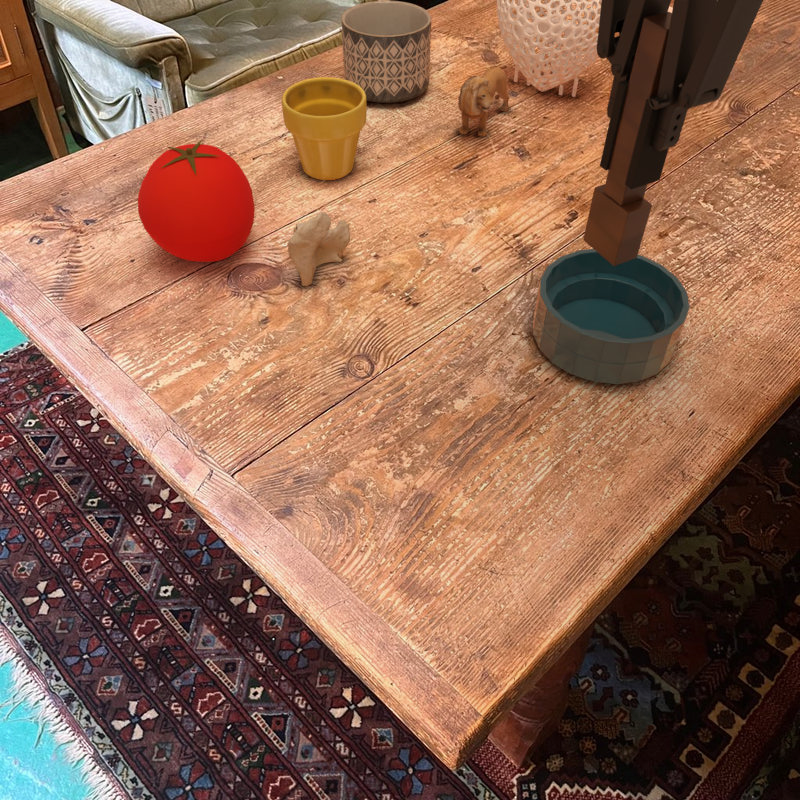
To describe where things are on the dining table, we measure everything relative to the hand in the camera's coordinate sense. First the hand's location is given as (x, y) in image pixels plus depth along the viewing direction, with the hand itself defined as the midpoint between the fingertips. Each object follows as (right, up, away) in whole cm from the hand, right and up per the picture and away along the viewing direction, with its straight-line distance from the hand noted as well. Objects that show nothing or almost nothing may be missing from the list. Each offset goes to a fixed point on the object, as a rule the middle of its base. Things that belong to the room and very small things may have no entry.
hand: (629, 172), depth 58 cm
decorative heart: (+5, +30, +59) cm, 66 cm away
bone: (-27, -2, +30) cm, 40 cm away
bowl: (+4, -11, +21) cm, 24 cm away
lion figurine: (-5, +22, +51) cm, 56 cm away
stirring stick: (0, -5, +5) cm, 7 cm away
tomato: (-39, 0, +31) cm, 50 cm away
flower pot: (-27, +13, +44) cm, 53 cm away
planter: (-19, +30, +59) cm, 68 cm away
